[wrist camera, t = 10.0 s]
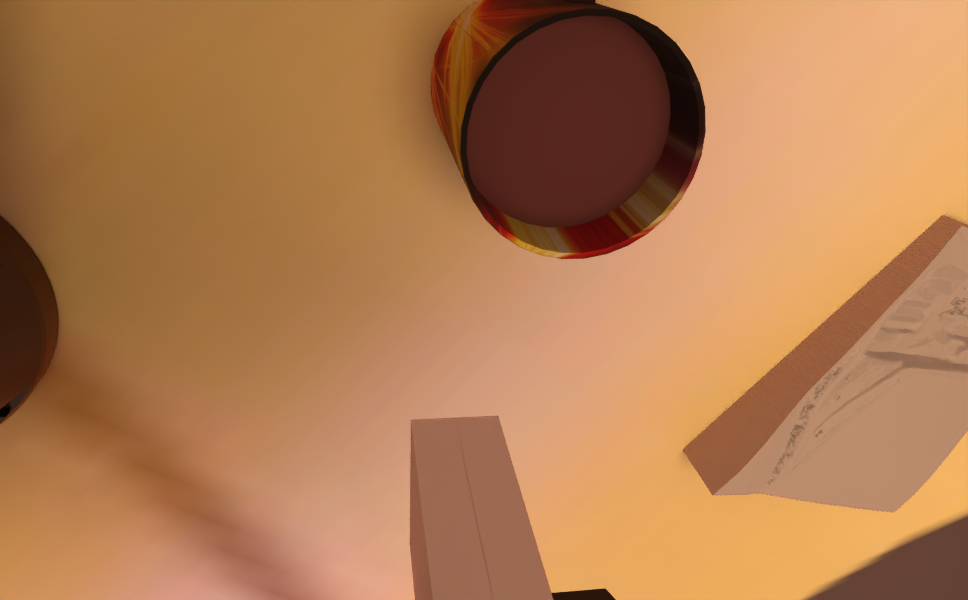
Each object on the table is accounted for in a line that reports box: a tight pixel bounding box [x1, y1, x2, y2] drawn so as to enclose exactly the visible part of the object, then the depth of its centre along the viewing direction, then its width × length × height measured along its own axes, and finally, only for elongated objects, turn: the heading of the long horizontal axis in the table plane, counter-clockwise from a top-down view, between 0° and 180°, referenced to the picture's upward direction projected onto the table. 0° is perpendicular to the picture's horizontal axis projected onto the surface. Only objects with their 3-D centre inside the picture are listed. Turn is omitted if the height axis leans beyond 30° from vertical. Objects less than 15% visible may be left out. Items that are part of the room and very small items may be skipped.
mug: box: [431, 0, 705, 259], centre depth 34 cm, size 10×14×12 cm
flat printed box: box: [683, 215, 968, 512], centre depth 50 cm, size 28×16×5 cm, turn 118°
